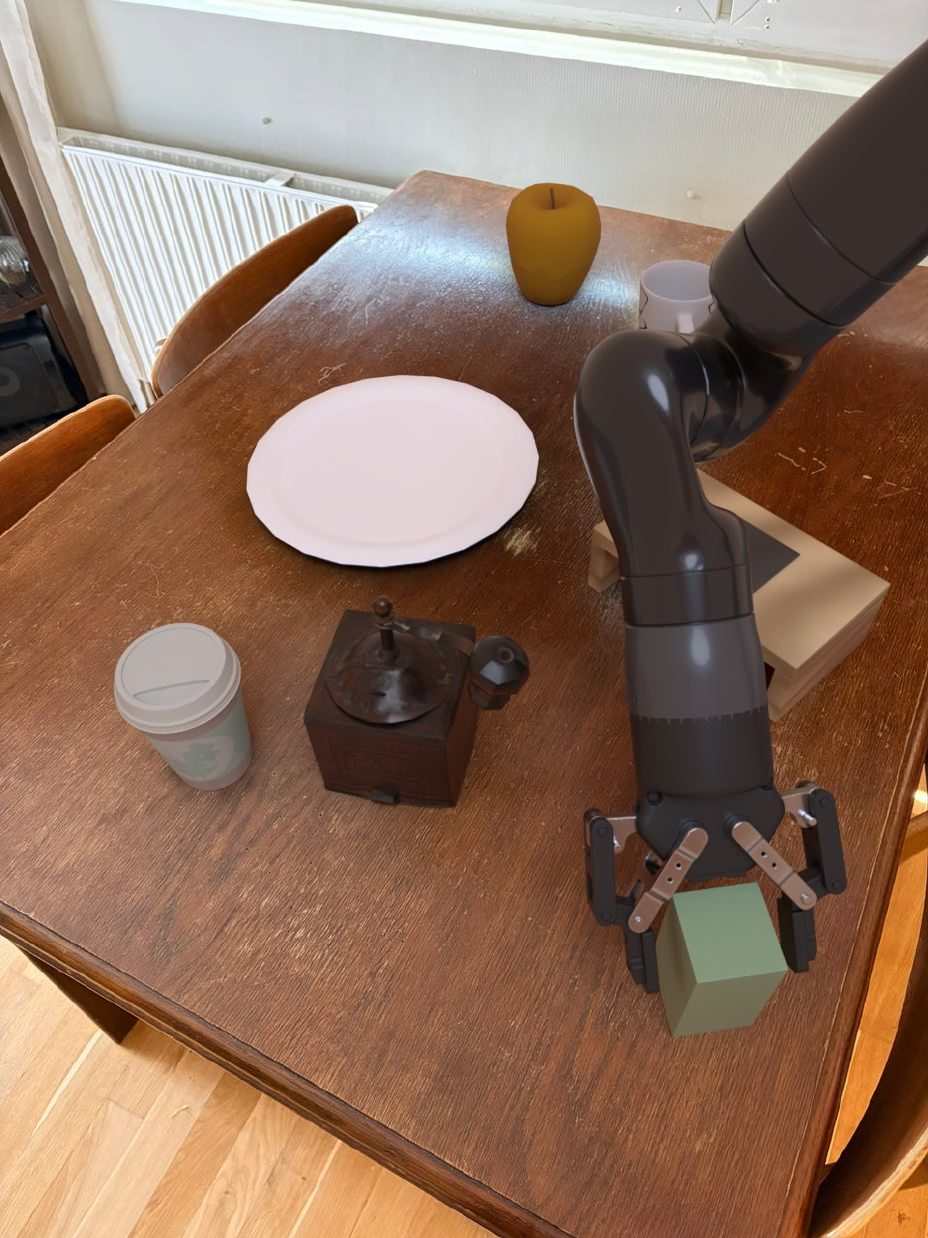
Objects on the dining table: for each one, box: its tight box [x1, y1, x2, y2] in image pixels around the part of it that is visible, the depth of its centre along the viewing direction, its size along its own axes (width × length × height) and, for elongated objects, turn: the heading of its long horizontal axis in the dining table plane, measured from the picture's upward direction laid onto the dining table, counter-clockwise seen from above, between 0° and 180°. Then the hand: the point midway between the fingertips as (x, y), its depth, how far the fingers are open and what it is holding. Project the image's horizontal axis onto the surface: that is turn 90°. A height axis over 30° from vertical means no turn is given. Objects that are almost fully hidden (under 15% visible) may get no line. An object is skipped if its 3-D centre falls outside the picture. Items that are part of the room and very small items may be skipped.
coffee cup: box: [113, 622, 254, 792], centre depth 65 cm, size 8×9×12 cm
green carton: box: [655, 881, 790, 1038], centre depth 53 cm, size 5×5×10 cm
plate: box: [246, 374, 540, 569], centre depth 90 cm, size 29×29×2 cm
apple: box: [505, 182, 602, 306], centre depth 106 cm, size 11×11×13 cm
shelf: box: [587, 467, 891, 723], centre depth 74 cm, size 20×12×7 cm, turn 41°
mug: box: [638, 259, 716, 333], centre depth 96 cm, size 11×8×10 cm
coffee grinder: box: [302, 595, 531, 808], centre depth 62 cm, size 16×11×18 cm
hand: (723, 977), depth 51 cm, fingers open, 8 cm apart
